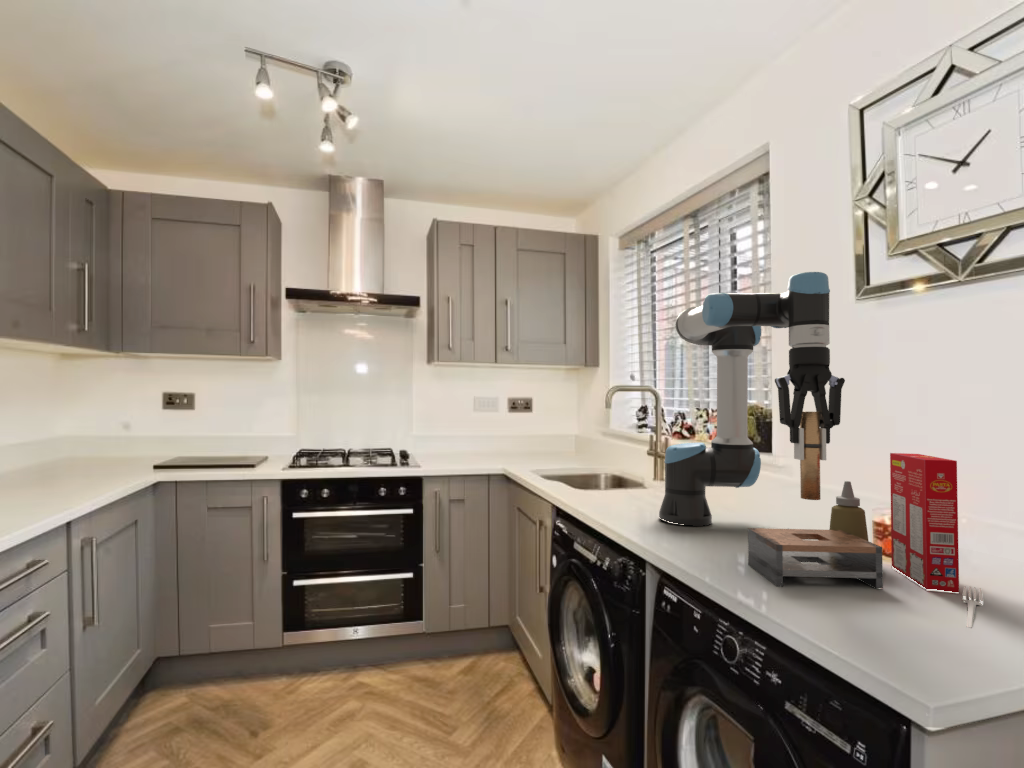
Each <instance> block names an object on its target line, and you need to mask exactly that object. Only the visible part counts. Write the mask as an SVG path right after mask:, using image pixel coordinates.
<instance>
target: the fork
mask: <svg viewBox="0 0 1024 768" xmlns="http://www.w3.org/2000/svg"><path fill="white" fill-rule="evenodd" d="M978 593H979V594H978V595H979V596H978V601H977V602H976V601H974V599H977V588H976V587H975V586H974V587H973V600H972V587H971V586H969V587H968V597H967V585H964V587H963V590H962V595H963V596H966V597H967V598H969V597H970V598H971V600H968V599H966V600H963V599H962V600H963V601H965V602H966V603H965V604H967V607H968V611H966V628H969V629H972V628H973V625H974V619H975V615H976V607H977V606H980V605H982V604H981V603H979V600H981V601H984V596H983V590H982V588H981V587H979V592H978ZM962 595H961V596H962ZM984 602H985V601H984ZM982 606H983V605H982ZM974 614H975V615H974Z"/></svg>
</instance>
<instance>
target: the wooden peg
mask: <svg viewBox="0 0 1024 768" xmlns="http://www.w3.org/2000/svg"><path fill="white" fill-rule="evenodd" d="M799 428H804V460H799V461H800V463H799V465H800V467H799V468H800V470H799V471H800V485H799V486H800V499H802V500H809V501H820V500H821V460H820V412H816V411H803V412H802V417H801V422H800V426H799Z"/></svg>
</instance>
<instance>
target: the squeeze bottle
mask: <svg viewBox="0 0 1024 768" xmlns="http://www.w3.org/2000/svg"><path fill="white" fill-rule="evenodd" d="M835 504H836V505H833V506H831V511H830V521H829V529H828V530H842V531H845V532H847V533H849V534H852V535H854V536H857V537H859V538H861V539H864V540H866V541H869V535H868V534H869V533H868V532H869V531H868V527H867V526H868V524H867V518H866V511H865V510H864V509H863V508H862V507H860V506H861V498H860V497H856V496H855V494H854V489H853V486H852V482H851V481H848V480H846V481H845V480H844V483H843V488H842V491H841V495H838V496H835ZM869 542H870V541H869Z"/></svg>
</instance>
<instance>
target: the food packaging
mask: <svg viewBox="0 0 1024 768" xmlns="http://www.w3.org/2000/svg"><path fill="white" fill-rule="evenodd" d="M889 457H890V458H889V460H890V461H889V462H890V463H889V468H890V469H889V471H890V474H889V475H890V477H889V479H890V526H891V527H890V531H891V532H890V534H891V535H890V538H891V539H890V541H891V542H890V544H891V545H890V546H891V548H890V549H891V567H892V566H893V567H894V568H896V569H897V570H899V571H900V572H902V573H903V574H905V575H906V576H908V577H910V578H911V579H913V580H914V581H916V582H917V583H918V584H920V585H922V586H923V587H925V588H926V589H937V590H944V591H952V592H959V593H960V568H959V567H960V563H959V512H958V507H959V506H958V461H957V460H953V459H949V458H942V457H938V456H931V455H926V454H920V453H904V452H903V453H901V452H900V453H899V452H894V453H893V452H890V453H889Z"/></svg>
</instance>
